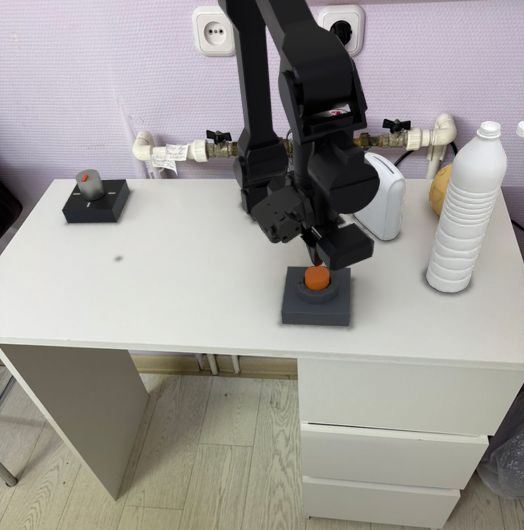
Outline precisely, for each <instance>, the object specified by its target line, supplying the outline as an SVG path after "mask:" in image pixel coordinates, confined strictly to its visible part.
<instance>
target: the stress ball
mask: <svg viewBox="0 0 524 530" xmlns="http://www.w3.org/2000/svg"><path fill="white" fill-rule="evenodd" d="M452 164H453V162H451V163H449V164H447V165H444V166H443V167H442V168H440V169H439V170H438V172H437V173H436V174H435V176H434V178H433V179H432V182H431V184H430V188H429V191H428V195H427V196H428V201H429V202H430V205H431V208H432V211H433V212H434V213H436V214H437V215H438V216H439V217H440V215H441V212H442V208H443V204H444V199H445V195H446V191H447V187H448V183H449V178H450V174H451V169H452Z"/></svg>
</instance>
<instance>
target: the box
mask: <svg viewBox="0 0 524 530" xmlns="http://www.w3.org/2000/svg"><path fill="white" fill-rule="evenodd" d="M312 266H313V265H310V266H301V265H300V266H298V265H297V266H295V265H289V266H287V268H286V274H285V282H284V289H283V295H282V305H281V310H280V311H281V312H280V313H281V324H283V325H304V326H305V325H307V326H330V327H331V326H332V327H349V326H350V319H351V318H350V317H351V282H352V281H351V280H352V279H351V277H352V269H351V267H350V266H348V267H345V268H343V269H340V270H338V271H333V270H329V268H328V267H327V266H326V265H322V266H323V267H325V268H327V269H328V271H329V285H328V286H327V287H326V288H325V289H322V290H311V289H309V288H308V287H307V286H306V284H305V272H306V270H307V269H308V268H310V267H312Z"/></svg>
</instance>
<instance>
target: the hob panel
mask: <svg viewBox="0 0 524 530" xmlns="http://www.w3.org/2000/svg"><path fill="white" fill-rule="evenodd" d="M101 180H102V183H103V186H104V188H105V194H104V196H103V197H101V198H99V199H97V200H92V201H90V200H86V199H84V198H83V196H82V193H81V191H80V189H79V186H78V184H77V183H75V186H74V187H73V189H72V191H71V193H70V194H69V196H68V199H67V200H66V202H65V203H64V205H63V207H62V209H61V212H62V214H63V216H64V218H65V221H66V222H67V224H100V223H101V224H103V223H104V224H105V223H107V224H109V223H118V221H119V218H120V216H121V214H122V212H123V209H124V207H125V205H126V202H127V200H128V198H129V195H130V193H131V191H130V188H129V184H128V182H127V179H126V178H111V179H110V178H109V179H101Z"/></svg>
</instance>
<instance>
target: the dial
mask: <svg viewBox="0 0 524 530" xmlns="http://www.w3.org/2000/svg"><path fill="white" fill-rule="evenodd" d="M102 180H103V179H102V178H101V175H100V173H99V171H98V170H96V169H93V168H89V169H84V170H82V171H79V172H78V173H77V174H76V175H75V182H76V184H78V186H79V189H80V191H81V193H82V196H83V198H84V199H86V200H90V201H92V200H97V199H99V198H101V197H103V196H104V194H105V188H104V186H103V183H102Z"/></svg>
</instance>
